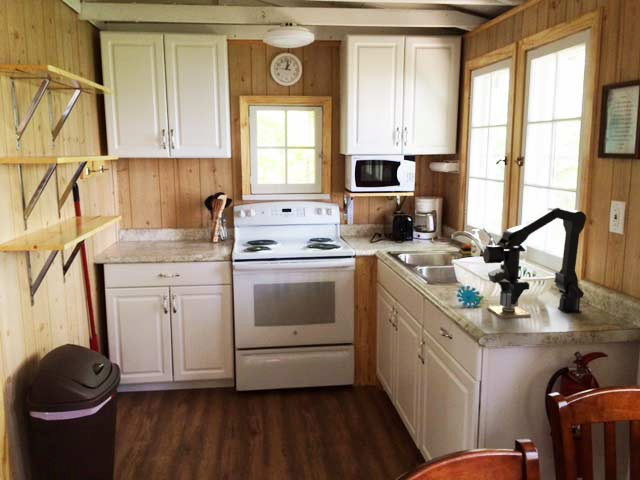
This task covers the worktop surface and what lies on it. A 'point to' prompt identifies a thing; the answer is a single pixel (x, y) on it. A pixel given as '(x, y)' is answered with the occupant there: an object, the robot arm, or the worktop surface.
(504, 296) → the hub
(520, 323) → the worktop surface
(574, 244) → the robot arm
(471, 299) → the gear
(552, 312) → the worktop surface
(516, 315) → the shaft stand
